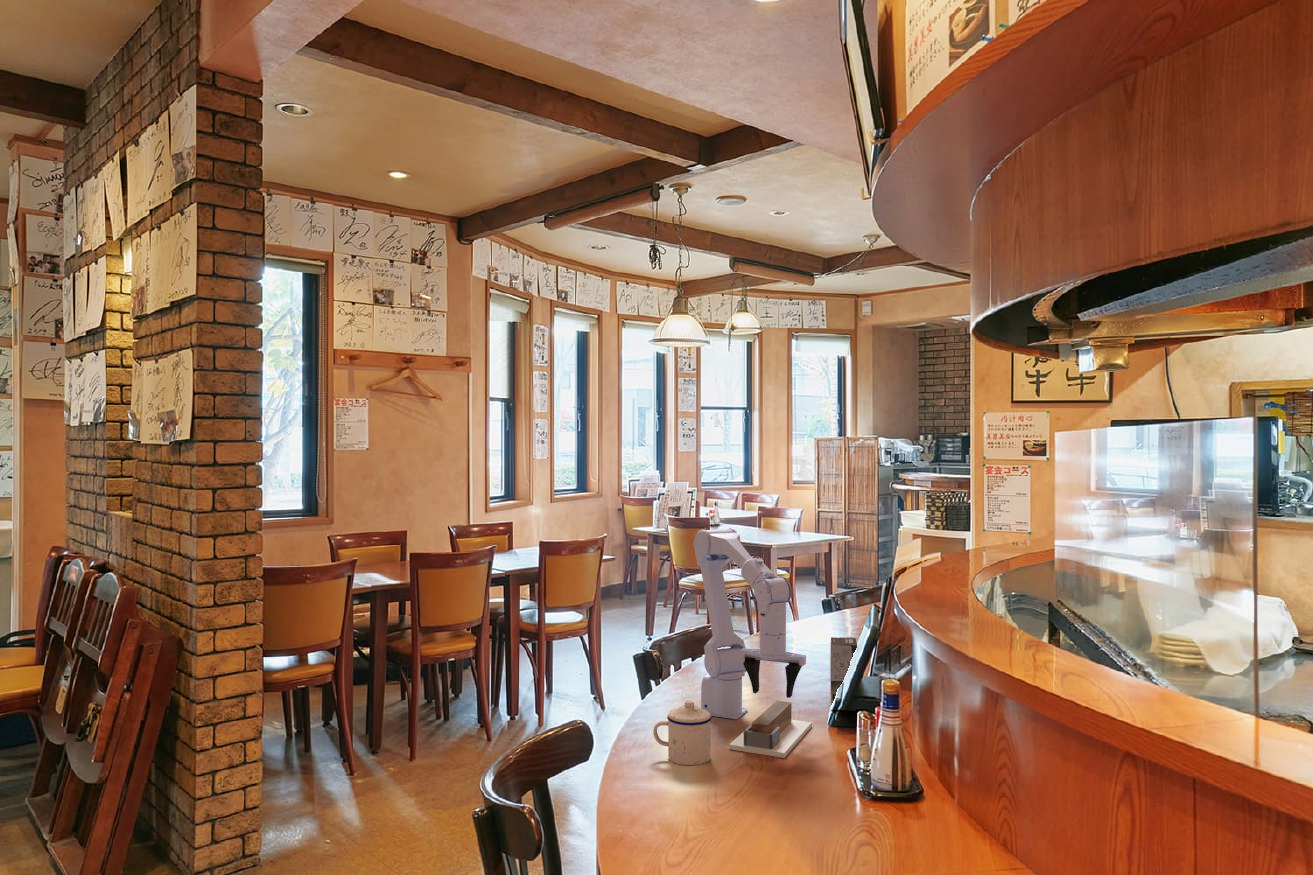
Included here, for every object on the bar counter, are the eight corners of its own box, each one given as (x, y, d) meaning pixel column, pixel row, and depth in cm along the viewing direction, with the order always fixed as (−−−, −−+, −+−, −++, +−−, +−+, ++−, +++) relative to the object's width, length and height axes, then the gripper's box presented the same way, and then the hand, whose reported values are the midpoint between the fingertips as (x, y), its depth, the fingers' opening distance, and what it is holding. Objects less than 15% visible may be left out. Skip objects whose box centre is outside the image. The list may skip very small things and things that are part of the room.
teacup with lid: (713, 751, 185) (713, 696, 185) (709, 767, 176) (709, 709, 176) (656, 748, 187) (656, 693, 187) (650, 764, 178) (650, 706, 178)
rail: (751, 744, 187) (751, 722, 187) (776, 720, 203) (776, 700, 203) (767, 746, 185) (767, 725, 185) (791, 722, 202) (791, 702, 202)
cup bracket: (729, 749, 187) (729, 730, 187) (761, 719, 207) (761, 702, 207) (784, 757, 182) (784, 738, 182) (811, 726, 202) (811, 709, 202)
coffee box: (857, 712, 212) (857, 645, 213) (830, 710, 214) (830, 644, 214) (856, 701, 221) (856, 637, 221) (830, 699, 223) (830, 635, 223)
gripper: (735, 632, 194) (735, 694, 194) (799, 639, 188) (799, 703, 188) (746, 626, 200) (745, 686, 200) (808, 633, 194) (808, 694, 194)
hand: (772, 694), depth 195 cm, fingers open, 7 cm apart
